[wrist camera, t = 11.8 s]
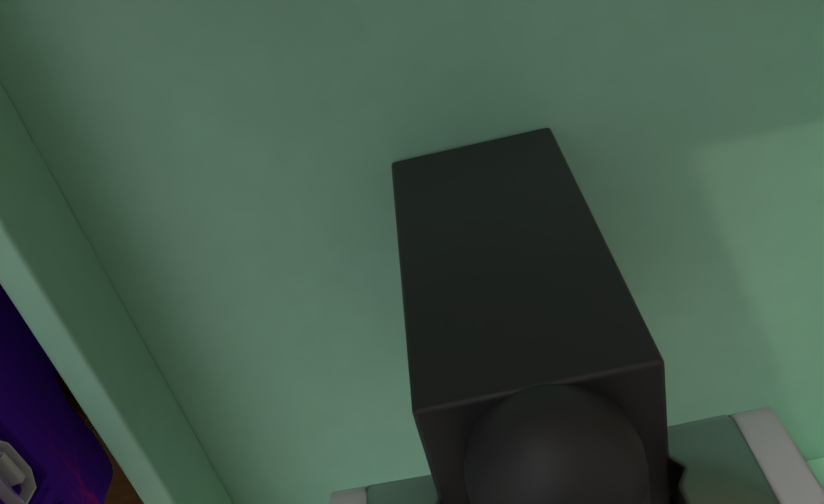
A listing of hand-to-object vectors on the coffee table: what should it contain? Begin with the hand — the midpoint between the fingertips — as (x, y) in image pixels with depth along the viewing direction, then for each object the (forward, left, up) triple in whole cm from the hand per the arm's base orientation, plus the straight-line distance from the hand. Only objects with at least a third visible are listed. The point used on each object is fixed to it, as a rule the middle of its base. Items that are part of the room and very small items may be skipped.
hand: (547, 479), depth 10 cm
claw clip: (0, 0, -5) cm, 5 cm away
